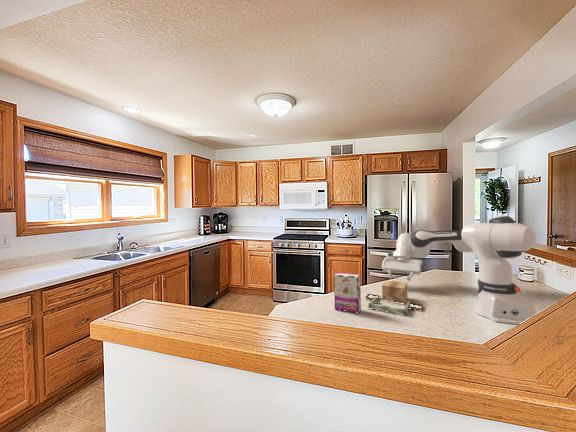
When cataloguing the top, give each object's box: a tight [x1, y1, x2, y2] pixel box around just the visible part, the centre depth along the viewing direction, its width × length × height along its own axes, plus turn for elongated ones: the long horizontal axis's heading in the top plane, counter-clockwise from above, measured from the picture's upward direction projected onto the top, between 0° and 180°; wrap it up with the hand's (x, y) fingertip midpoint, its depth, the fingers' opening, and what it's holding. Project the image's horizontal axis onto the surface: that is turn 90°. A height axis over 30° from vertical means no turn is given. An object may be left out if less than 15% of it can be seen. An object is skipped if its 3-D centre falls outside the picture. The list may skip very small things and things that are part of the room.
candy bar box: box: [333, 272, 362, 314], centre depth 124 cm, size 11×5×16 cm, turn 62°
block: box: [381, 279, 408, 303], centre depth 136 cm, size 10×10×8 cm
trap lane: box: [364, 293, 424, 316], centre depth 128 cm, size 26×18×2 cm
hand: (399, 278), depth 148 cm, fingers open, 8 cm apart
